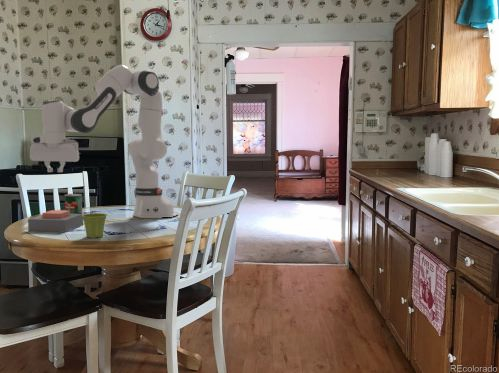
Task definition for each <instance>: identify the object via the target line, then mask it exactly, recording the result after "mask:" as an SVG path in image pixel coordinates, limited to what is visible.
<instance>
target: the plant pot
mask: <svg viewBox="0 0 499 373" xmlns="http://www.w3.org/2000/svg"><path fill="white" fill-rule="evenodd" d="M107 216H108V214H107V213H100V212H98V213H97V212H96V213H95V212H94V213H92V212H91V213H85V214H83V215H82V217H83V225H84V228H85V235H86V237H87V238H88V239H95V238H102V237H103V236H104V230H105V222H106V219H107Z"/></svg>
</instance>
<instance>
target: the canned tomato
mask: <svg viewBox="0 0 499 373" xmlns="http://www.w3.org/2000/svg"><path fill="white" fill-rule="evenodd" d="M82 196H83V194H81V193H67V194H64V211H70V214H83V197H82Z"/></svg>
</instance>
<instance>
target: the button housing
mask: <svg viewBox="0 0 499 373" xmlns="http://www.w3.org/2000/svg"><path fill="white" fill-rule="evenodd" d="M82 215H84V214H83V213H82V214H70V216H67V217H64V218H43V217H42V214H41V215H37V216H35V217H30V218H28V219H27V225H28V226H27V228H28V229H27V230H28V232H42V231H44V232H45V233H47V232H49V233H68V232H69V231H72V230H75V229H77V228H79V227H82V226H84V220H83V217H82Z"/></svg>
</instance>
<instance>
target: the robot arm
mask: <svg viewBox="0 0 499 373" xmlns="http://www.w3.org/2000/svg"><path fill="white" fill-rule="evenodd" d="M159 85H160V82H159V77H158V76H157V73H155V71H152V70H148V69H144V70H135V71H131V70H130V68H128V67H127V66H125V65H124V64H118V65H116V66H114V67H113V68H111V69H110V70H108V71H107V72H105V73H104V74H103V75H102V76H101V77H100V78H99V79H98V81H96V83H95V85H94V88H95V89H94V90H95V93H96V94H97V96H96V97H95V99H94V100H93V101H92V102H90V103H89V105H88V106H86V107H84V108H80V109H75V108H72V107H71V106H69V105H67V104H66V103H64V101H62V100H50V101H46V102H44V103H43V105H42V109H41V110H42V112H41V122H42V125H43V128H42V134H41V135H38V136H35V137H32V138H31V139H30V142H31V143H30V144H31V145H30V147H29V159H30V160H31V162H44V166H45V167H46V168H47V173H53V172H54V170H53V169H54V168H53V167H51V165H50V164H51V162H59V164H60V165H59V167H57V169H56V170H57V173H63V171H64V167H65V165H66V163H67V162H69V163H71V162H74V163H76V162H78V161H79V160H80V152H79V142H78V141H77V140H75V139H66V131H67V132H71V133H83V134H87V133H92V131H93V130H95V128H96V127H97V125H98V121H99V120H100V118H101V116H103V114H104V113H105V112H106V111H107V110H108V109H109V107H110V106H111V105H112V104H113V103H114V101H115V100H116V99H117V98H118V97H119V96H120V95H121V94H123V92H124V93H125V94H128V95H131V96H132V95H138V97H139V99H140V102H139V111H138V118H137V119H138V121H137V126H138V128H139V129H140V131H141V137H140V138H135V139H132V140H131V141H130V142H129V143H128V146H127V152H128V155H129V156H130V157H131V159H132V163H133V165H134V170H135V171H134V172H135V188H134V189H135V191H134V198H135V203H134V204H135V205H134V210H133V214H132V216H133V217H137V218H139V219H163V218H162V217H173V216H176V215H178V216H179V213H178V211H175V209H174V204H173V202H172V201H170V200H169V199H168V198H167V197H166V196H164V195H163V188H161V187H160V186H159V172H158V170H157V168H156V166H155V164H154V162H155V161H160V160H162V159H163V158H165V157H166V155H167V151H168V147H167V144H166V142H165V141H164V140H163V134H162V128H161V126H162V114H163V98H162V93H161V92H160V91H159V89H160V86H159ZM176 217H177V216H176ZM173 218H174V217H173Z"/></svg>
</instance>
